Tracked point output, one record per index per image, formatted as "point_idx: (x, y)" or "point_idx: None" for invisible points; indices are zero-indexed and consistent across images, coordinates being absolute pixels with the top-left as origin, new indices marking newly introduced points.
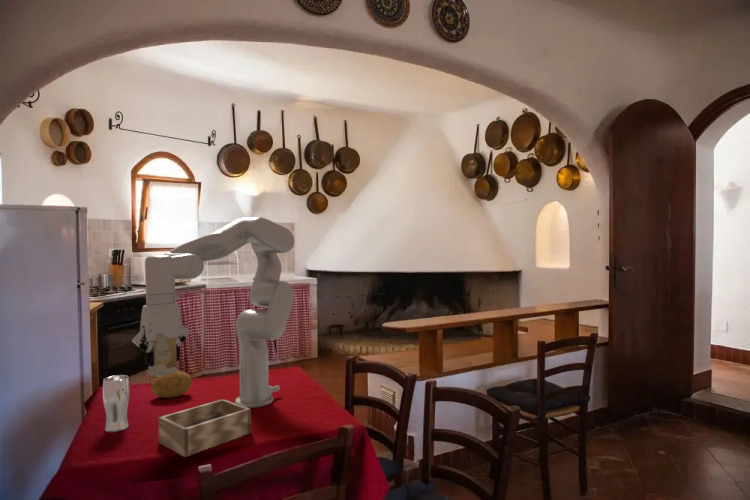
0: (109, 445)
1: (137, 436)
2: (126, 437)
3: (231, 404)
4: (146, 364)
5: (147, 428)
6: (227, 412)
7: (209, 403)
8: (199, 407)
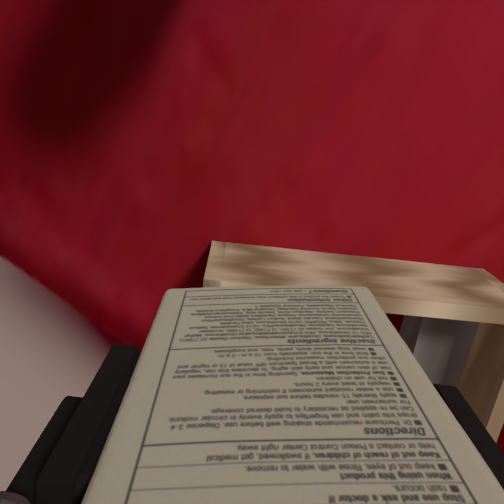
0: (77, 93)
1: (196, 102)
2: (162, 69)
3: (496, 393)
4: (114, 346)
5: (274, 47)
6: (482, 340)
7: (460, 312)
8: (399, 313)
